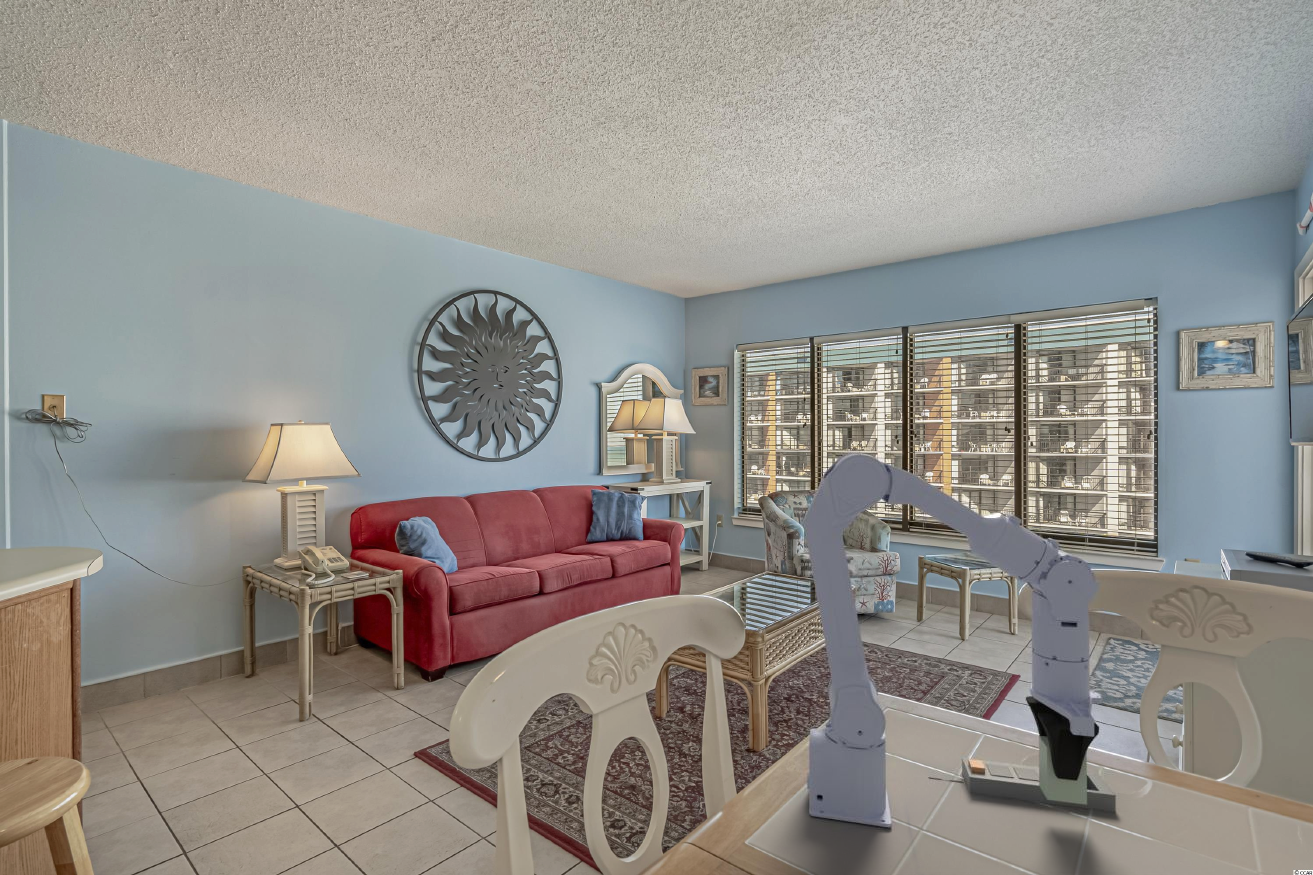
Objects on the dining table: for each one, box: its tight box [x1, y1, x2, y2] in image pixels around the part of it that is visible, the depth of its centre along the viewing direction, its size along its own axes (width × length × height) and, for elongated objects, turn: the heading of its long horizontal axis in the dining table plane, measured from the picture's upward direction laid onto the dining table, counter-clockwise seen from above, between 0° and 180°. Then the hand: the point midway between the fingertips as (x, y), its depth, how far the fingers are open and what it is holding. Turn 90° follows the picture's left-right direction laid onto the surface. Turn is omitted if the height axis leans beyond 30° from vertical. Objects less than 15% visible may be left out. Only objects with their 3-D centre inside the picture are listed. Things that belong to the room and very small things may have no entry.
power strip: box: [928, 757, 1117, 813], centre depth 82 cm, size 20×5×4 cm, turn 74°
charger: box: [1038, 736, 1088, 805], centre depth 74 cm, size 4×3×7 cm
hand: (1060, 770), depth 75 cm, fingers closed on charger, 3 cm apart
